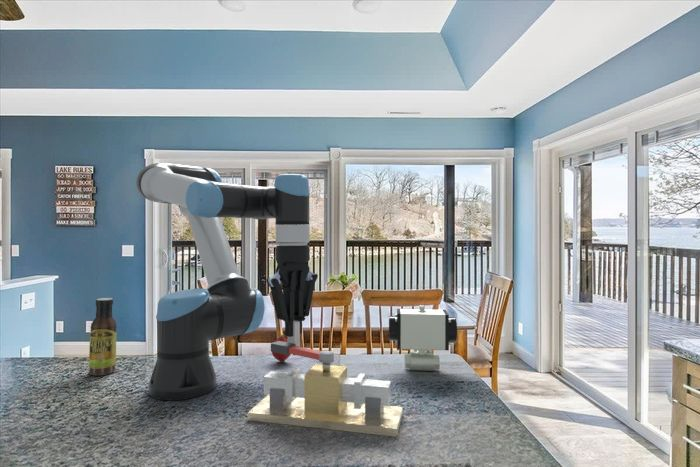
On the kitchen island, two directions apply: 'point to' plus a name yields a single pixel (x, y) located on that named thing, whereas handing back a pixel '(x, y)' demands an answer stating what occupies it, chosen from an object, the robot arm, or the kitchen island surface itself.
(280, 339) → the onion
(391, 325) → the ball valve
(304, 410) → the valve pipe
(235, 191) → the robot arm
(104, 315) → the sauce bottle
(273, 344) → the lever
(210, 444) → the kitchen island surface
